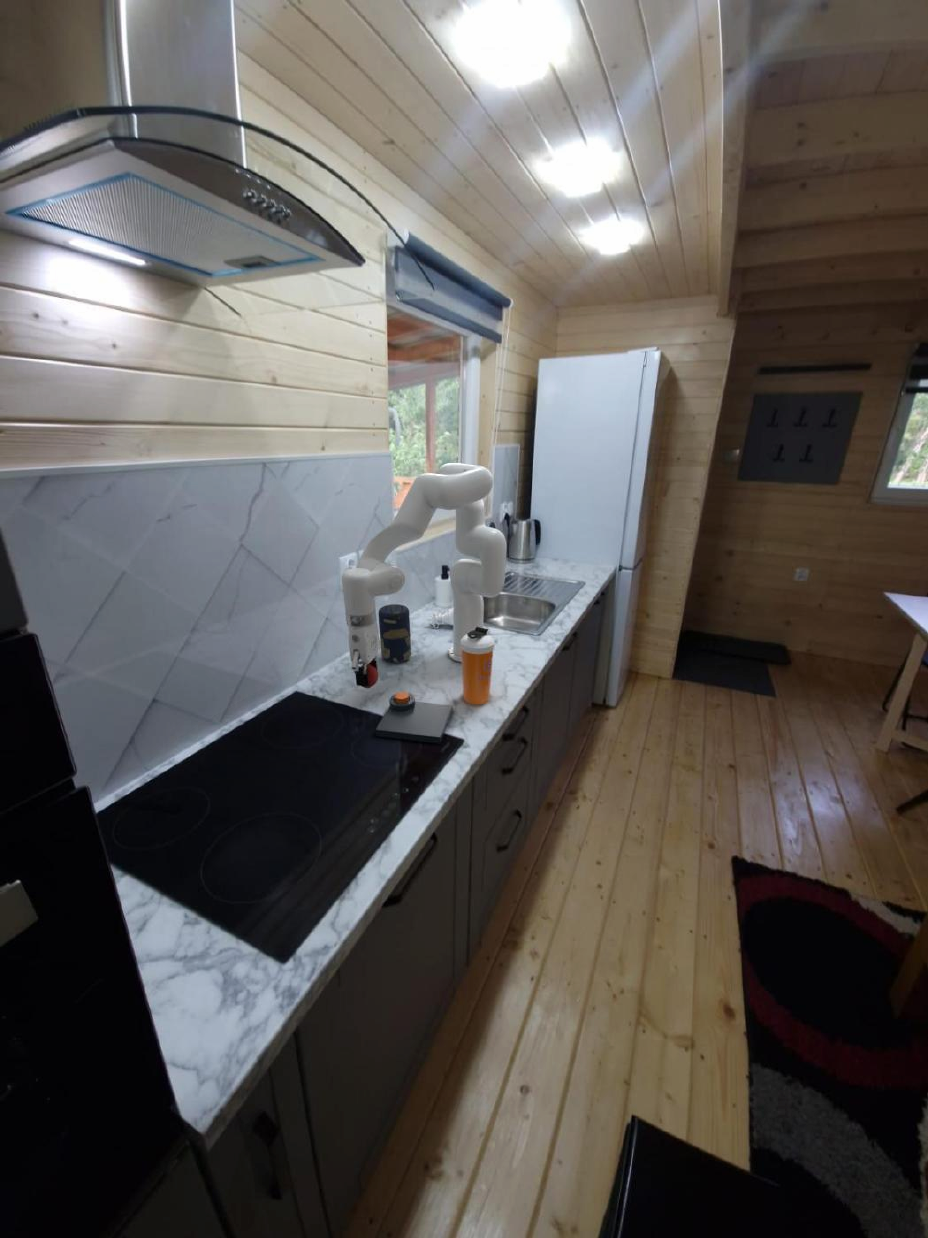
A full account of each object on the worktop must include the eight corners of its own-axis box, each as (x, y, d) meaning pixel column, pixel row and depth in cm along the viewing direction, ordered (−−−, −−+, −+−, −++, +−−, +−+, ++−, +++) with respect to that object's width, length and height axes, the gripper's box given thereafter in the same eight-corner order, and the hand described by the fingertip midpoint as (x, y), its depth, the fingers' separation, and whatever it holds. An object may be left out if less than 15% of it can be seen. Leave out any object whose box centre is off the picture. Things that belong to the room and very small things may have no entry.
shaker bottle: (455, 702, 133) (455, 635, 126) (467, 687, 141) (467, 622, 134) (486, 709, 130) (488, 640, 123) (496, 693, 138) (499, 627, 131)
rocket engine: (423, 601, 178) (472, 592, 176) (430, 611, 189) (476, 603, 187) (427, 631, 174) (477, 622, 172) (434, 640, 185) (481, 631, 183)
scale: (394, 702, 133) (393, 691, 132) (453, 709, 130) (453, 697, 129) (374, 736, 119) (374, 723, 118) (440, 744, 117) (440, 731, 115)
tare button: (397, 696, 130) (397, 691, 130) (410, 697, 130) (410, 692, 129) (393, 703, 127) (393, 698, 127) (406, 704, 127) (406, 699, 126)
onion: (374, 695, 130) (371, 668, 127) (353, 692, 131) (350, 666, 128) (382, 683, 136) (379, 658, 132) (362, 681, 137) (359, 656, 133)
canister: (414, 652, 162) (413, 601, 155) (406, 666, 153) (404, 611, 146) (386, 650, 163) (383, 599, 156) (377, 663, 154) (373, 609, 148)
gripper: (362, 632, 117) (369, 697, 124) (386, 605, 132) (391, 665, 139) (333, 630, 118) (341, 695, 125) (359, 604, 134) (365, 663, 141)
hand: (367, 678), depth 132 cm, fingers closed on onion, 5 cm apart
